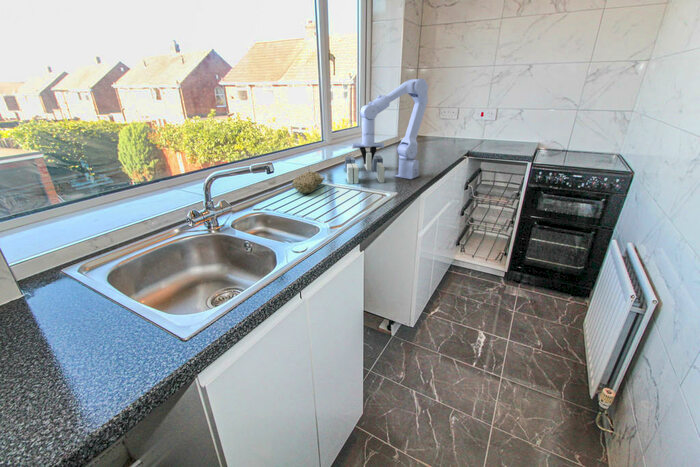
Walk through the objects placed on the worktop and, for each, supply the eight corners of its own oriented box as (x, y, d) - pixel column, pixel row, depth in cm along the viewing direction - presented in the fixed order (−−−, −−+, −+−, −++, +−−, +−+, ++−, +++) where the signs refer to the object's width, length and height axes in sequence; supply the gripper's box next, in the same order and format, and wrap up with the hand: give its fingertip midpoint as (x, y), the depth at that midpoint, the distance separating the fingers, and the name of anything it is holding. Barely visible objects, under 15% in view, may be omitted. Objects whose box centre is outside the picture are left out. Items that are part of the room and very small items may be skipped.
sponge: (305, 185, 156) (280, 187, 138) (309, 169, 153) (283, 169, 136) (329, 193, 151) (306, 196, 133) (333, 176, 149) (310, 178, 131)
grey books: (379, 167, 183) (380, 155, 181) (382, 170, 175) (382, 158, 172) (345, 168, 182) (344, 156, 179) (346, 172, 174) (346, 159, 171)
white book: (368, 165, 159) (369, 150, 156) (371, 170, 151) (371, 153, 148) (364, 165, 159) (364, 150, 156) (366, 170, 151) (366, 153, 148)
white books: (381, 177, 162) (381, 162, 159) (384, 182, 154) (384, 166, 151) (347, 178, 161) (346, 163, 158) (348, 183, 153) (348, 167, 149)
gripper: (382, 132, 153) (381, 161, 158) (351, 132, 152) (351, 162, 157) (385, 134, 146) (384, 164, 152) (352, 134, 145) (353, 165, 151)
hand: (367, 163), depth 154 cm, fingers closed on white book, 2 cm apart
